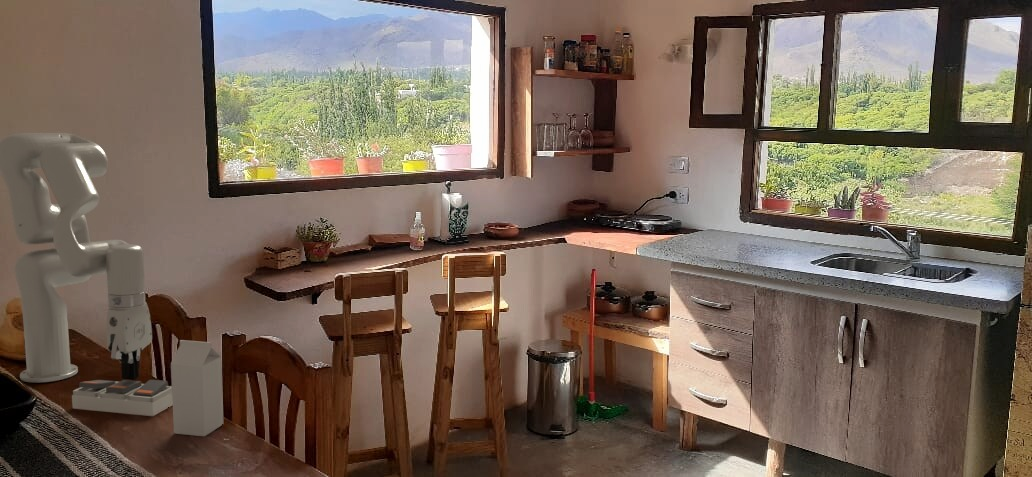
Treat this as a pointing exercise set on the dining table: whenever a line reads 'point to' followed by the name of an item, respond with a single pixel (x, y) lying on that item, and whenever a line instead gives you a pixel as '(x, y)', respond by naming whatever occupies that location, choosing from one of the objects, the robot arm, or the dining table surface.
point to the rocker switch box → (121, 401)
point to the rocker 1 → (96, 384)
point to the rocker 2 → (123, 386)
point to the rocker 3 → (151, 388)
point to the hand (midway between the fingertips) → (130, 378)
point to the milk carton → (196, 389)
